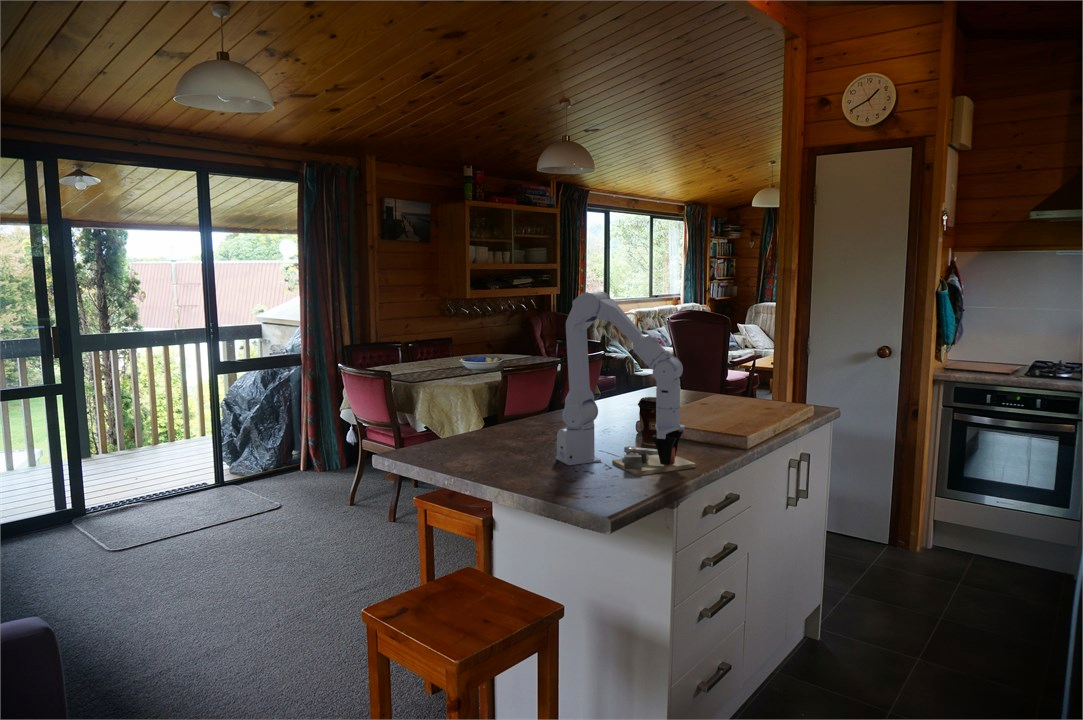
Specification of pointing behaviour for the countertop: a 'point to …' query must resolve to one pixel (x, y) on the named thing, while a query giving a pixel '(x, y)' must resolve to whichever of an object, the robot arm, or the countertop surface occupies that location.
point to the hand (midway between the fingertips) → (667, 461)
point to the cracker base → (650, 464)
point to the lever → (647, 453)
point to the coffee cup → (648, 419)
